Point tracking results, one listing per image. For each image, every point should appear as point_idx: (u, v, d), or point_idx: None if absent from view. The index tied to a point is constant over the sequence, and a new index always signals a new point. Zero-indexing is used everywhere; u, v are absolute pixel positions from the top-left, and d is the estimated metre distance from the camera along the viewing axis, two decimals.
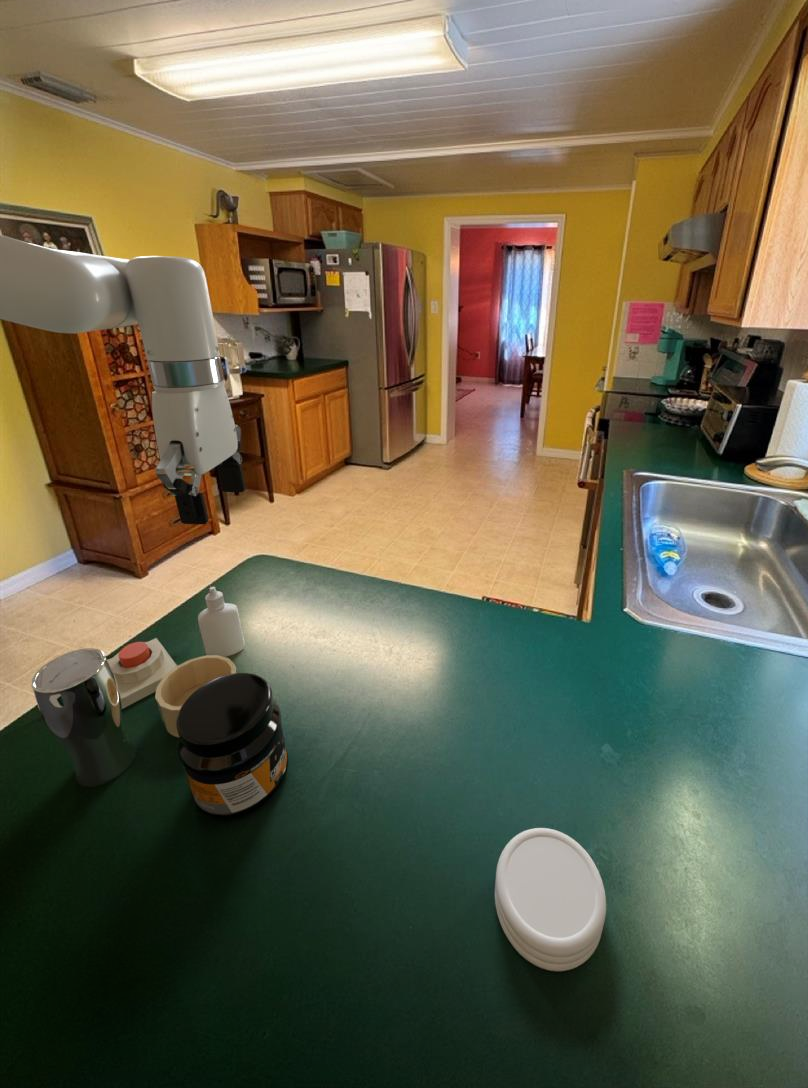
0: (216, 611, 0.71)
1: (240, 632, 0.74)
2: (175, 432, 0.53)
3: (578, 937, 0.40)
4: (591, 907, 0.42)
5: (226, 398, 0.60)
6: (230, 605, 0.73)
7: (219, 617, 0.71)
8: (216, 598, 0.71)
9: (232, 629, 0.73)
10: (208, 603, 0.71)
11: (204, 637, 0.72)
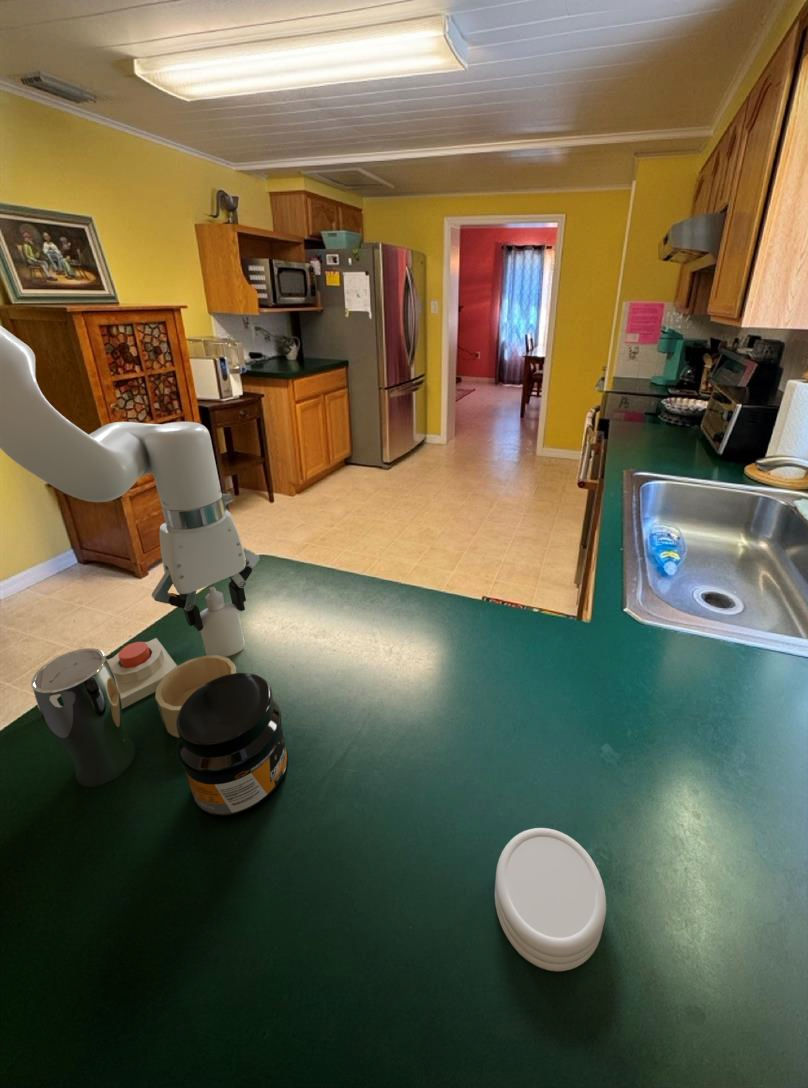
0: (216, 611, 0.71)
1: (240, 632, 0.74)
2: (166, 560, 0.65)
3: (578, 937, 0.40)
4: (591, 907, 0.42)
5: (230, 530, 0.68)
6: (230, 605, 0.73)
7: (219, 616, 0.71)
8: (216, 598, 0.71)
9: (232, 629, 0.73)
10: (208, 603, 0.71)
11: (204, 637, 0.72)
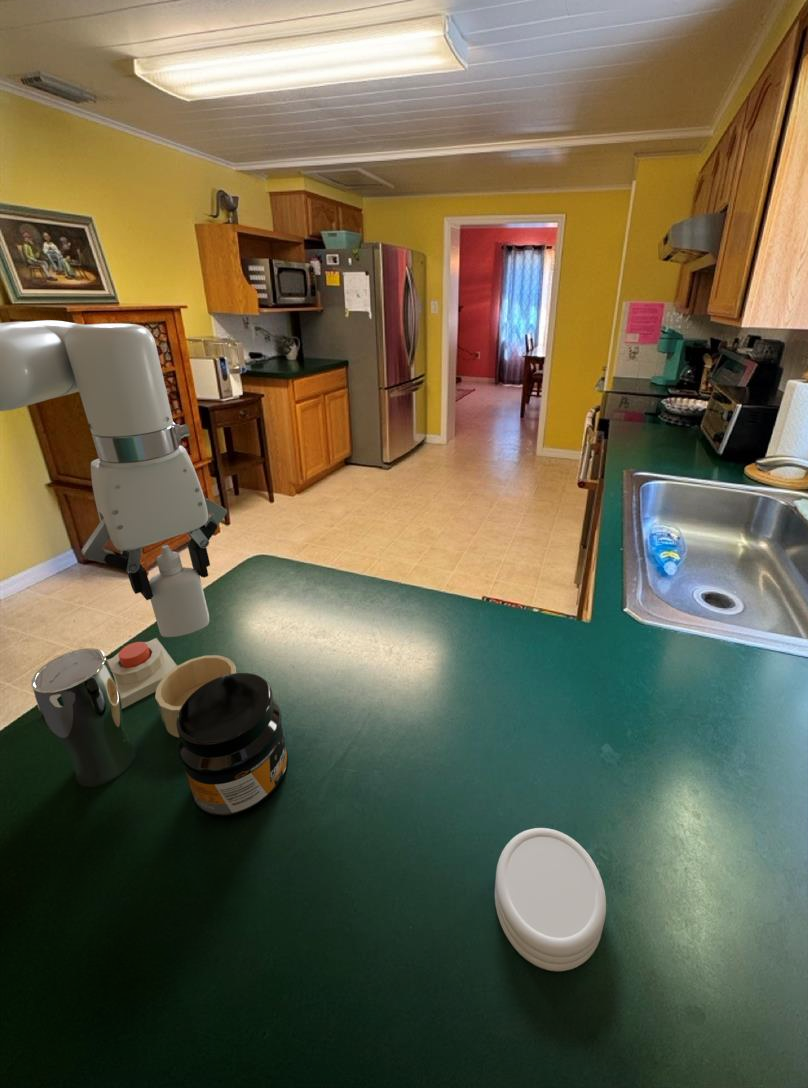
0: (170, 576, 0.57)
1: (203, 604, 0.60)
2: (99, 505, 0.50)
3: (578, 937, 0.40)
4: (591, 907, 0.42)
5: (186, 471, 0.54)
6: (189, 570, 0.59)
7: (174, 583, 0.57)
8: (170, 559, 0.56)
9: (191, 600, 0.58)
10: (160, 565, 0.56)
11: (156, 608, 0.57)
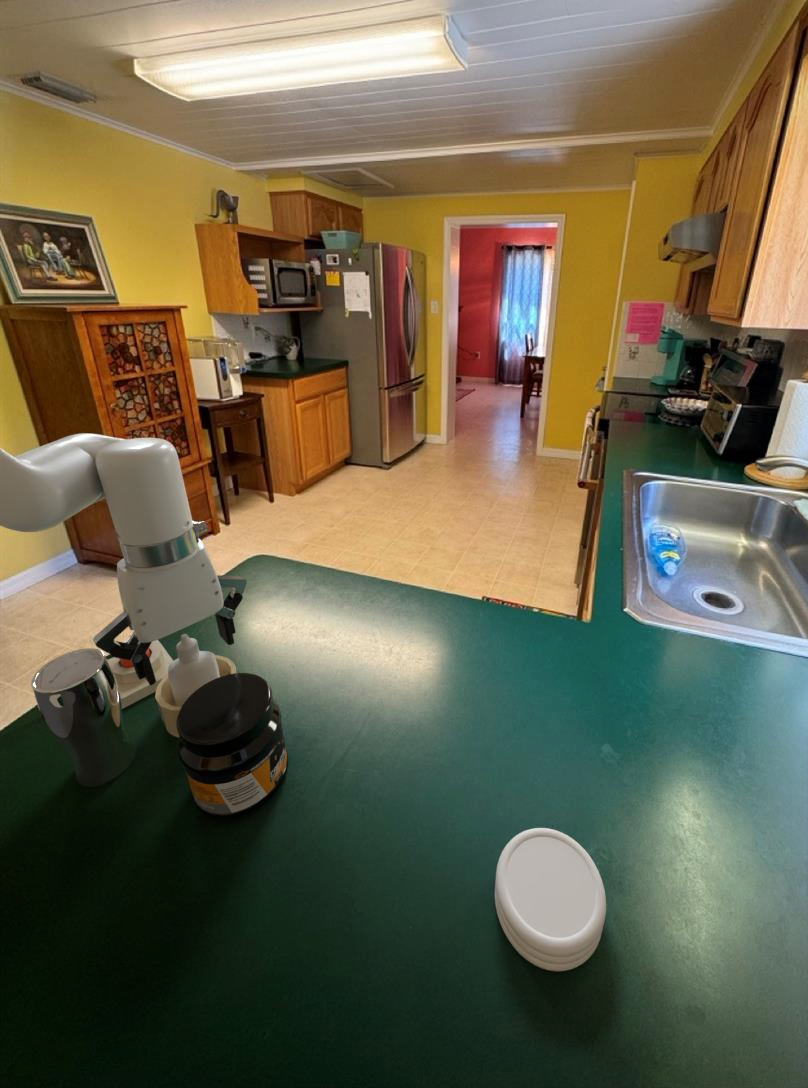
0: (189, 662, 0.61)
1: None
2: (124, 603, 0.54)
3: (578, 937, 0.40)
4: (591, 907, 0.42)
5: (204, 566, 0.57)
6: (206, 654, 0.63)
7: (192, 669, 0.61)
8: (189, 647, 0.60)
9: None
10: (179, 653, 0.60)
11: (175, 692, 0.61)
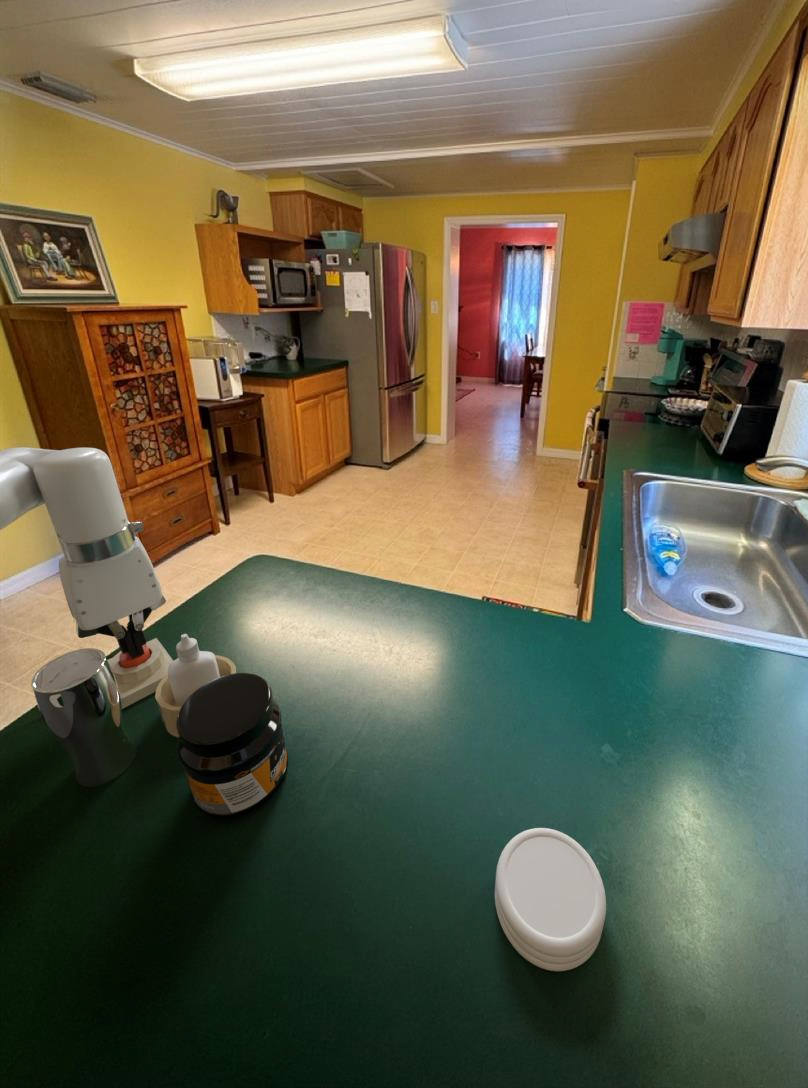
0: (189, 662, 0.61)
1: None
2: (66, 595, 0.60)
3: (578, 937, 0.40)
4: (591, 907, 0.42)
5: (140, 561, 0.64)
6: (206, 654, 0.63)
7: (192, 669, 0.61)
8: (189, 647, 0.60)
9: None
10: (179, 653, 0.60)
11: (175, 692, 0.61)
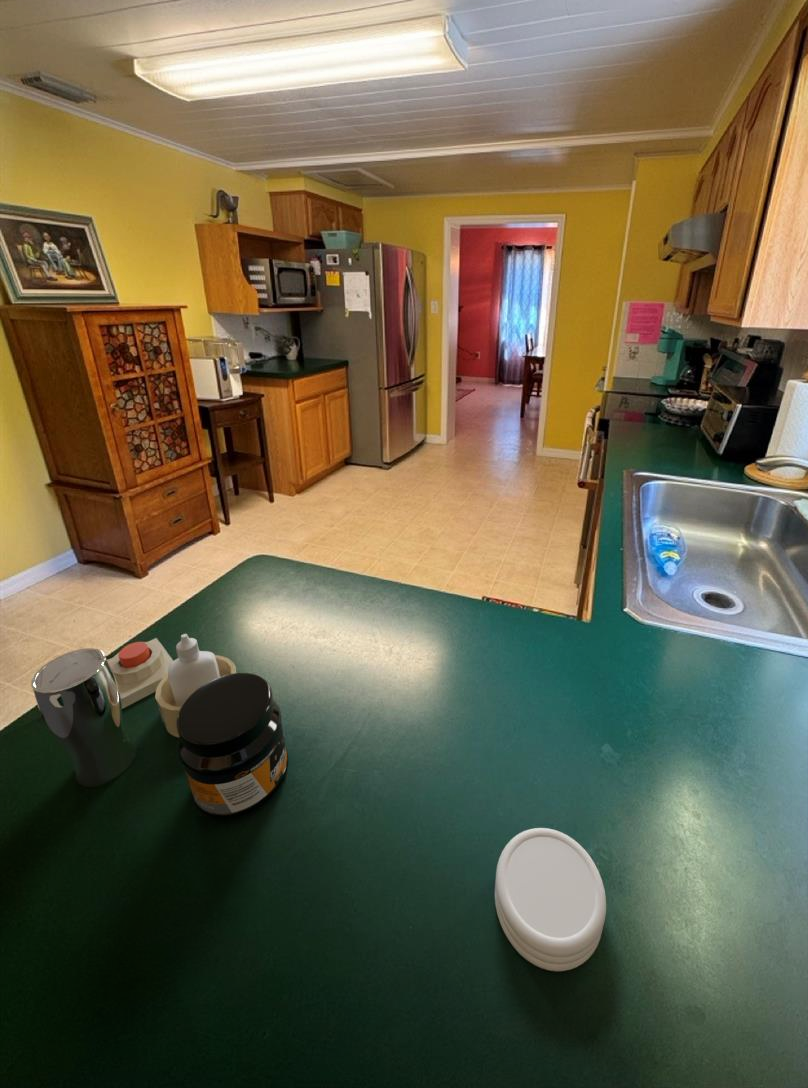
0: (189, 662, 0.61)
1: None
2: None
3: (578, 937, 0.40)
4: (591, 907, 0.42)
5: None
6: (206, 654, 0.63)
7: (192, 669, 0.61)
8: (189, 647, 0.60)
9: None
10: (179, 653, 0.60)
11: (175, 692, 0.61)
